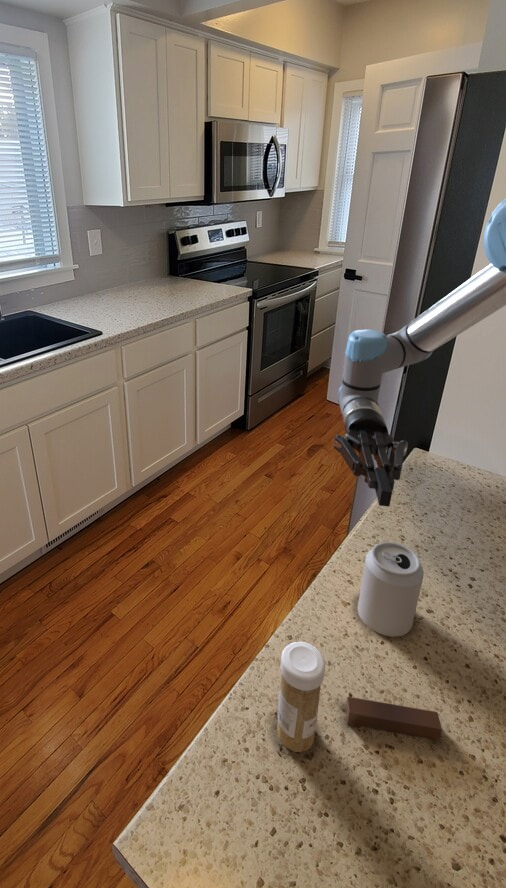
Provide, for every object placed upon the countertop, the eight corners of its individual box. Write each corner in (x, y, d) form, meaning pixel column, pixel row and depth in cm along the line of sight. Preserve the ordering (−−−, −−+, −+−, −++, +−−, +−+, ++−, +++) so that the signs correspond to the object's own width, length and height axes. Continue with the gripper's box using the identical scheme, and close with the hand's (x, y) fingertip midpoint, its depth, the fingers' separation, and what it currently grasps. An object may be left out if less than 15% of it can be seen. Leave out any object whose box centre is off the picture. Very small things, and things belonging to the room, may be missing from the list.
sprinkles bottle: (319, 757, 55) (331, 677, 49) (279, 759, 55) (287, 680, 49) (308, 715, 59) (318, 638, 54) (271, 718, 59) (277, 640, 53)
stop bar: (432, 728, 57) (437, 711, 56) (437, 746, 56) (442, 729, 54) (344, 712, 59) (347, 696, 58) (346, 729, 58) (349, 713, 56)
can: (413, 647, 67) (429, 582, 62) (356, 633, 69) (367, 569, 64) (409, 605, 73) (422, 543, 69) (356, 593, 76) (366, 532, 71)
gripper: (396, 444, 95) (426, 523, 74) (328, 439, 98) (338, 513, 77) (402, 410, 92) (436, 482, 71) (331, 405, 95) (344, 474, 74)
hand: (385, 498), depth 74 cm, fingers closed
